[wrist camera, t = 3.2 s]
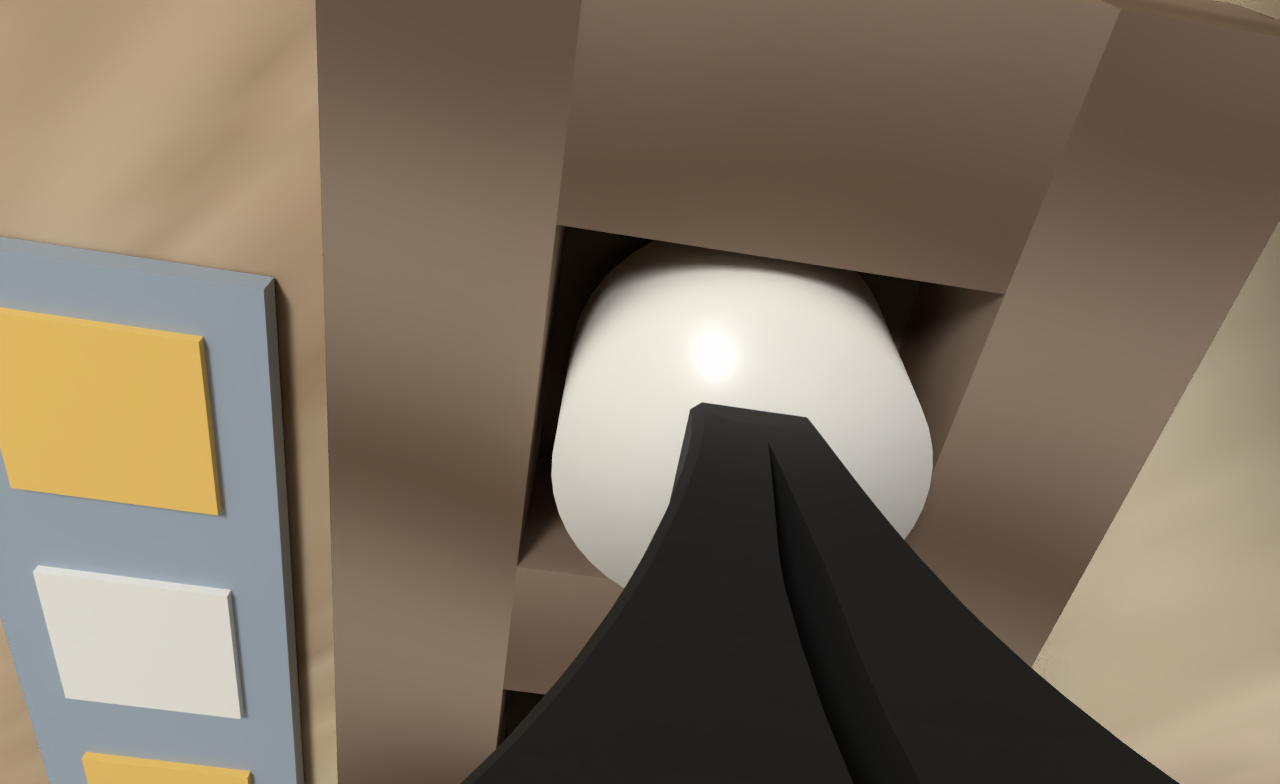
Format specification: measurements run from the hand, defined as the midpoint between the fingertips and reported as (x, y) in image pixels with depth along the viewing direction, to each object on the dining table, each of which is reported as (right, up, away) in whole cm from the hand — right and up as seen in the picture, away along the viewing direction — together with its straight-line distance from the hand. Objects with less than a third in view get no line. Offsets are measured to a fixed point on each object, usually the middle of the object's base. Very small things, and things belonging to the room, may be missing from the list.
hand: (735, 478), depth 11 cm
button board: (-1, -5, +7) cm, 8 cm away
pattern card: (-10, -3, +6) cm, 12 cm away
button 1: (0, +1, +2) cm, 3 cm away
